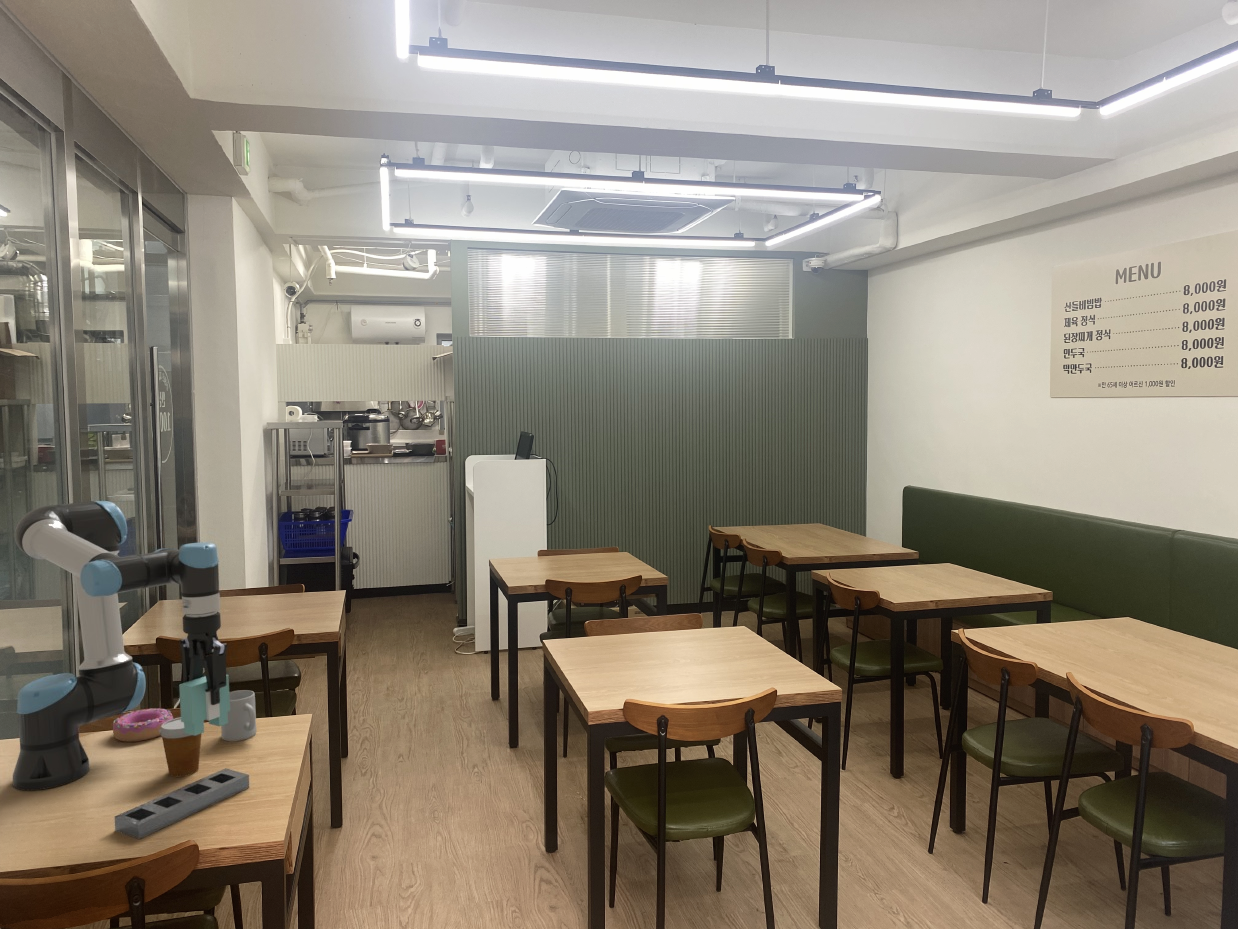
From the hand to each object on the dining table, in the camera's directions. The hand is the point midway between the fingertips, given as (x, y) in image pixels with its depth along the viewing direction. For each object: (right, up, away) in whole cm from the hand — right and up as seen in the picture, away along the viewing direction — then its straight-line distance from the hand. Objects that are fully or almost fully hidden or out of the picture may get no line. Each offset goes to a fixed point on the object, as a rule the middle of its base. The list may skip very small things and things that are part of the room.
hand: (206, 716), depth 186 cm
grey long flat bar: (-2, -19, -4) cm, 19 cm away
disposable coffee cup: (-13, -18, +15) cm, 27 cm away
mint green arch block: (0, -3, 0) cm, 3 cm away
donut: (-37, -17, +40) cm, 57 cm away
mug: (-8, -17, +36) cm, 41 cm away
